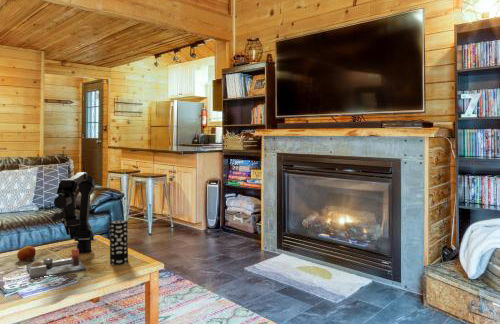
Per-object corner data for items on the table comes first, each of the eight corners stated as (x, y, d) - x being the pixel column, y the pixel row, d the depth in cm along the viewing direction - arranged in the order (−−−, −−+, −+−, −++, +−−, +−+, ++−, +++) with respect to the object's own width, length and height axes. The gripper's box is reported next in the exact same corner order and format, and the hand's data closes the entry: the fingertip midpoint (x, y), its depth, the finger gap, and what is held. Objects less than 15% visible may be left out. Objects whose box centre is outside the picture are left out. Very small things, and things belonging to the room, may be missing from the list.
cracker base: (76, 258, 197) (76, 250, 197) (86, 270, 179) (85, 260, 179) (26, 266, 185) (26, 257, 185) (31, 279, 167) (30, 269, 167)
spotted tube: (131, 261, 193) (131, 221, 192) (119, 266, 186) (118, 224, 185) (118, 259, 197) (118, 219, 196) (106, 263, 189) (105, 222, 188)
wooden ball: (43, 269, 177) (42, 258, 177) (44, 272, 173) (44, 261, 172) (30, 271, 174) (30, 260, 174) (31, 275, 170) (31, 263, 170)
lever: (34, 269, 177) (34, 257, 176) (32, 267, 180) (32, 255, 179) (79, 261, 189) (79, 249, 189) (77, 259, 192) (77, 248, 192)
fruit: (31, 260, 190) (23, 245, 191) (19, 267, 192) (11, 253, 192) (42, 255, 198) (35, 241, 199) (31, 262, 200) (24, 248, 200)
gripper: (47, 203, 193) (48, 235, 193) (54, 209, 177) (55, 243, 178) (71, 201, 199) (72, 232, 200) (80, 207, 184) (81, 239, 185)
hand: (69, 236), depth 191 cm, fingers open, 9 cm apart
